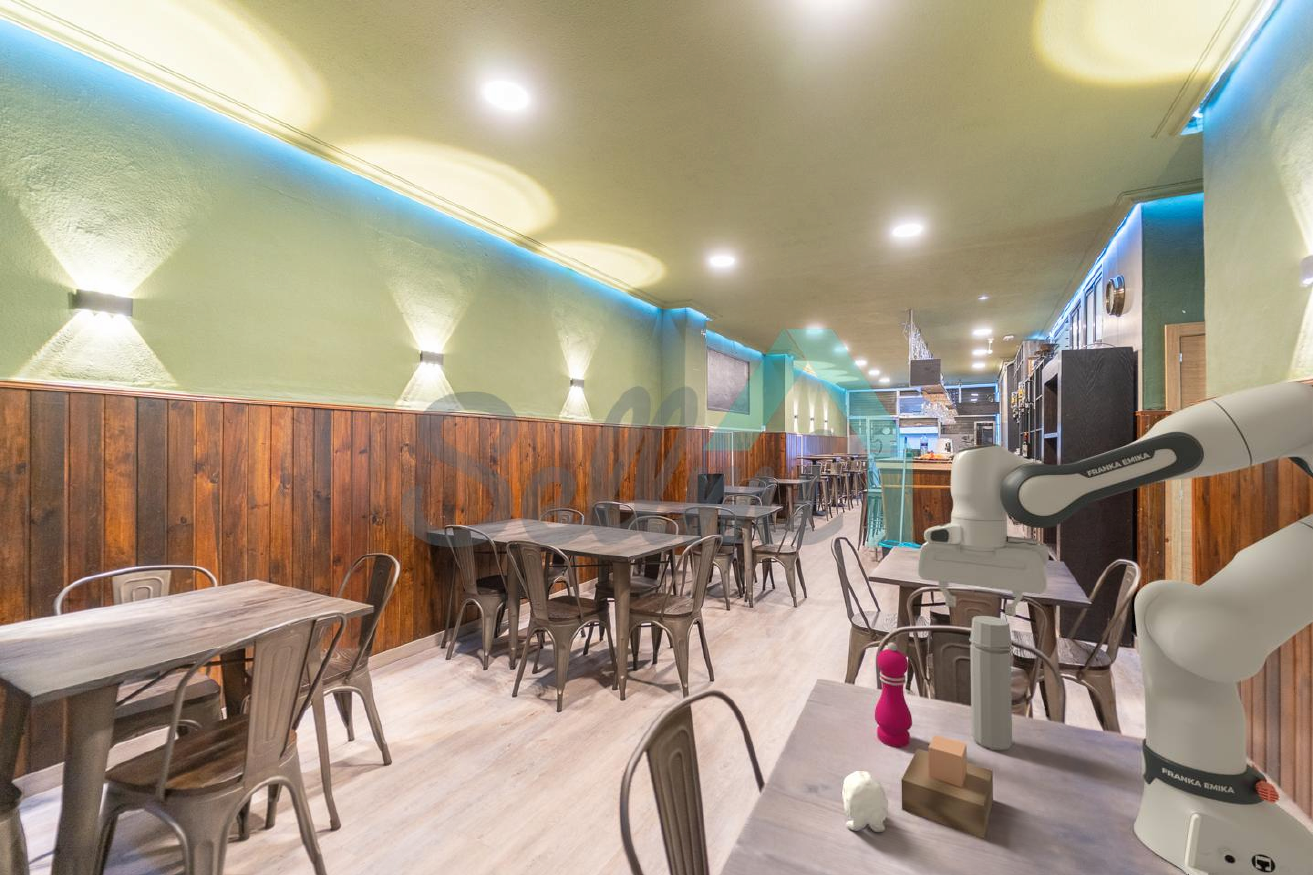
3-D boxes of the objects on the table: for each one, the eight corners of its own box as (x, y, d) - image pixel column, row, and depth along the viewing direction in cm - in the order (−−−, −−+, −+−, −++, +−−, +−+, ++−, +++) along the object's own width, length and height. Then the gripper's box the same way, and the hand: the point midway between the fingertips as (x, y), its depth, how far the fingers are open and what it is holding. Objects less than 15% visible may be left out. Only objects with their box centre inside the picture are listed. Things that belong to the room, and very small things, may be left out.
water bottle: (1001, 757, 111) (999, 628, 111) (962, 739, 118) (960, 618, 118) (1027, 744, 115) (1024, 621, 116) (988, 728, 122) (986, 611, 122)
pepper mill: (918, 748, 114) (917, 648, 114) (882, 748, 114) (881, 648, 114) (903, 730, 121) (902, 636, 122) (869, 730, 121) (868, 636, 122)
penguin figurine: (847, 781, 88) (832, 748, 100) (849, 840, 87) (834, 799, 99) (889, 784, 88) (869, 750, 99) (892, 843, 87) (871, 802, 98)
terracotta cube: (966, 772, 97) (966, 743, 97) (962, 787, 93) (961, 756, 93) (934, 763, 100) (934, 734, 100) (928, 776, 96) (928, 746, 96)
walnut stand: (993, 799, 98) (992, 770, 98) (984, 838, 88) (983, 806, 88) (917, 775, 105) (917, 748, 105) (901, 809, 95) (901, 779, 95)
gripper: (1049, 536, 99) (1050, 616, 99) (922, 527, 111) (923, 598, 111) (1047, 541, 94) (1049, 625, 94) (915, 531, 106) (916, 605, 106)
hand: (979, 610), depth 102 cm, fingers open, 8 cm apart
